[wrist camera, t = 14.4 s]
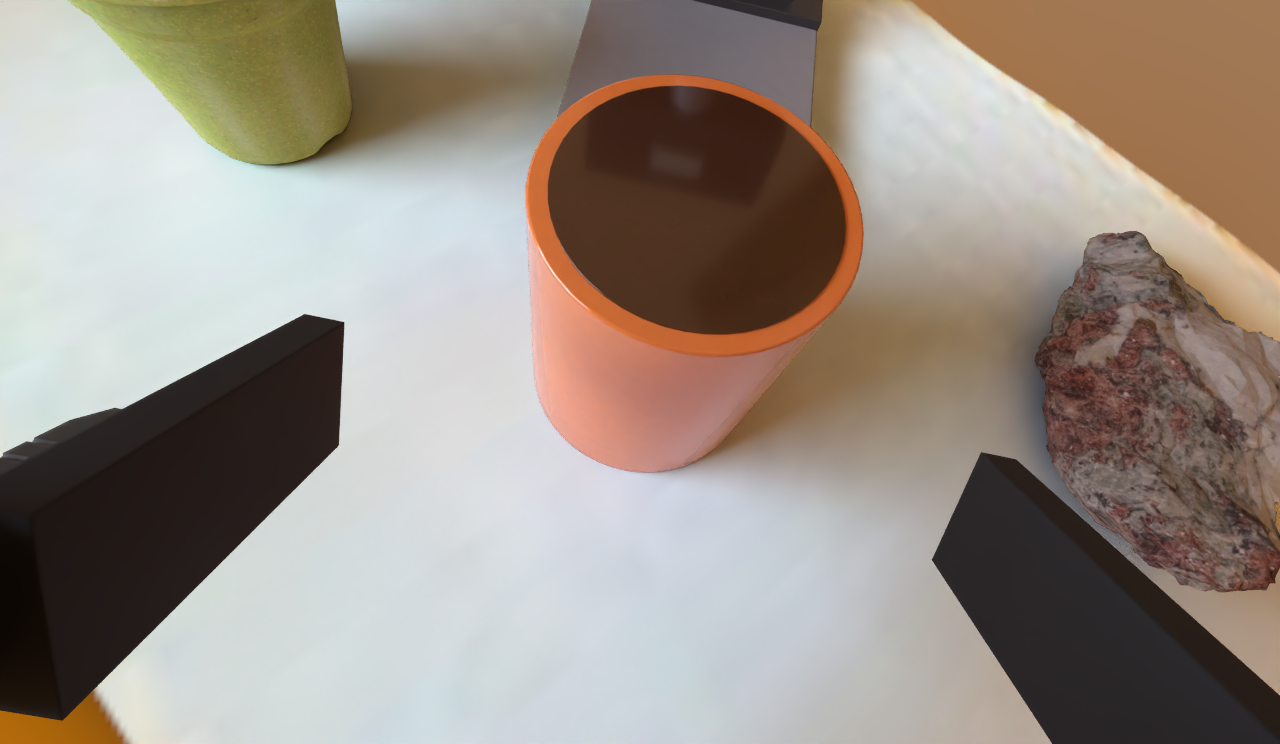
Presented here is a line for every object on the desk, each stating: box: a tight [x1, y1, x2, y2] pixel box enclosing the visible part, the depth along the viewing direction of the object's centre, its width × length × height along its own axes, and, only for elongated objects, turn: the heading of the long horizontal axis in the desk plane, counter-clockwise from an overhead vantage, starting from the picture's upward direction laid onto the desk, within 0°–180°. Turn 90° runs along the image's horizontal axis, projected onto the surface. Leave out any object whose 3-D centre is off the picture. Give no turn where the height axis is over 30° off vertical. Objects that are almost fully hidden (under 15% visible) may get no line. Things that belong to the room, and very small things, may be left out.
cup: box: [526, 74, 864, 472], centre depth 20 cm, size 8×8×10 cm
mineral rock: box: [1035, 231, 1280, 592], centre depth 24 cm, size 15×8×4 cm, turn 153°
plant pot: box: [68, 0, 352, 164], centre depth 23 cm, size 9×9×9 cm
